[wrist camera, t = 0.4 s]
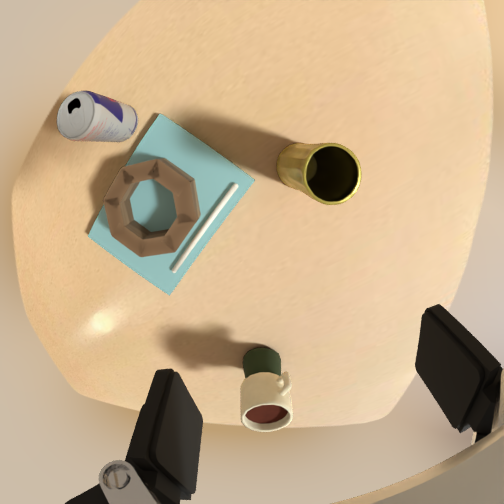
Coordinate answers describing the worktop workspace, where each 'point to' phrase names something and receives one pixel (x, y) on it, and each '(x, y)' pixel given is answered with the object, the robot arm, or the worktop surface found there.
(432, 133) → the worktop surface
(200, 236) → the teal rectangular slab
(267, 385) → the character mug
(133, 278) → the worktop surface
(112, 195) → the brown octagonal ring
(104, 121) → the energy drink
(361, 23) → the worktop surface
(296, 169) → the vase
